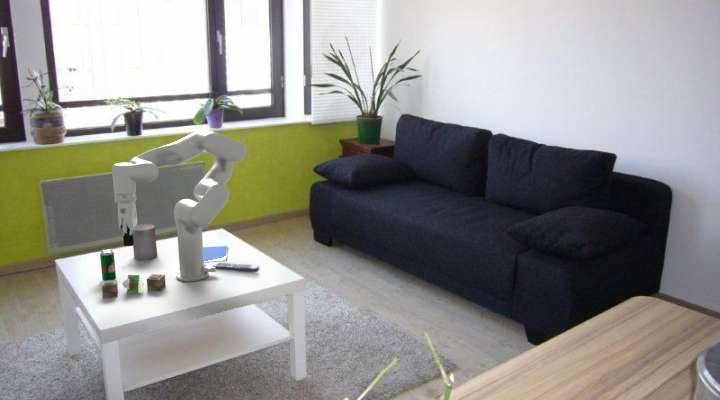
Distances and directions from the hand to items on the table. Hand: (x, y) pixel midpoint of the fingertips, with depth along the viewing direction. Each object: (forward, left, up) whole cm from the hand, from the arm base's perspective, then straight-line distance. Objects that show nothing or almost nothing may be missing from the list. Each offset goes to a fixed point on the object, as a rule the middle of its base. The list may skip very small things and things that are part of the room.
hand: (128, 245), depth 237 cm
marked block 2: (-8, -2, -19) cm, 20 cm away
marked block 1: (+8, +2, -19) cm, 20 cm away
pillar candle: (+3, -41, -19) cm, 45 cm away
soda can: (+12, -14, -19) cm, 26 cm away
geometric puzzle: (0, 0, -19) cm, 19 cm away
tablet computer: (-26, -40, -19) cm, 52 cm away
